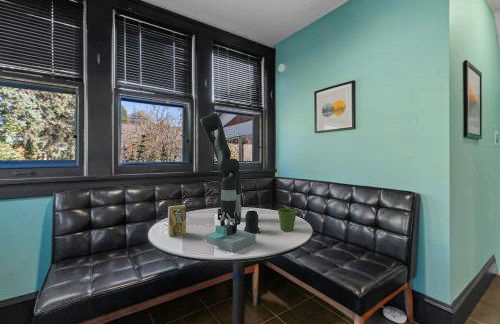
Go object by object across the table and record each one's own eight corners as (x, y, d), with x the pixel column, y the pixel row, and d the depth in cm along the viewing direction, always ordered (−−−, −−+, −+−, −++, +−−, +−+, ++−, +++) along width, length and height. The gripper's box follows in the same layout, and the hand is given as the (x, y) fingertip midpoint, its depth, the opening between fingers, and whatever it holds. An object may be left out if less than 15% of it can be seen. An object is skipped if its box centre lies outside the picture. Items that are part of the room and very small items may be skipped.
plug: (228, 239, 115) (228, 219, 115) (233, 241, 113) (234, 221, 113) (222, 241, 113) (222, 221, 112) (227, 243, 110) (228, 223, 110)
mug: (259, 234, 124) (259, 213, 124) (242, 233, 125) (242, 213, 125) (260, 227, 136) (260, 209, 135) (245, 227, 137) (245, 208, 137)
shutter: (217, 233, 112) (217, 225, 112) (227, 236, 107) (227, 228, 107) (205, 236, 107) (205, 228, 107) (215, 240, 102) (215, 231, 102)
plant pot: (296, 234, 124) (296, 213, 124) (274, 231, 128) (275, 211, 128) (298, 227, 136) (298, 209, 135) (279, 225, 139) (279, 207, 139)
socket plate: (230, 234, 123) (230, 226, 123) (255, 242, 111) (255, 234, 111) (206, 242, 112) (206, 234, 111) (231, 252, 99) (231, 243, 99)
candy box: (184, 232, 127) (184, 204, 127) (186, 234, 123) (186, 206, 123) (167, 234, 122) (167, 206, 122) (169, 236, 119) (169, 207, 118)
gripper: (213, 197, 114) (213, 229, 115) (233, 201, 105) (232, 236, 105) (224, 196, 120) (224, 226, 120) (244, 199, 110) (244, 232, 111)
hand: (228, 231), depth 113 cm, fingers open, 8 cm apart
